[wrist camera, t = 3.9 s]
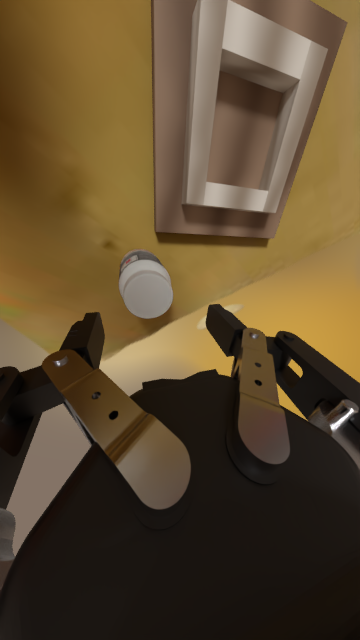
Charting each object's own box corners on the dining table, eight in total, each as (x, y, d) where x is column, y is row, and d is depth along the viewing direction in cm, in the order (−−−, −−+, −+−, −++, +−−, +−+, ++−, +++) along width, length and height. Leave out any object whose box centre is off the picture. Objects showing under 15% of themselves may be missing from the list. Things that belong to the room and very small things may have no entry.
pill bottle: (111, 268, 22) (101, 299, 14) (140, 238, 21) (149, 252, 13) (141, 295, 25) (148, 332, 17) (168, 270, 24) (189, 297, 16)
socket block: (154, 230, 21) (158, 233, 18) (150, -59, 11) (157, -150, 8) (266, 237, 26) (284, 240, 23) (330, 36, 16) (374, -1, 13)
